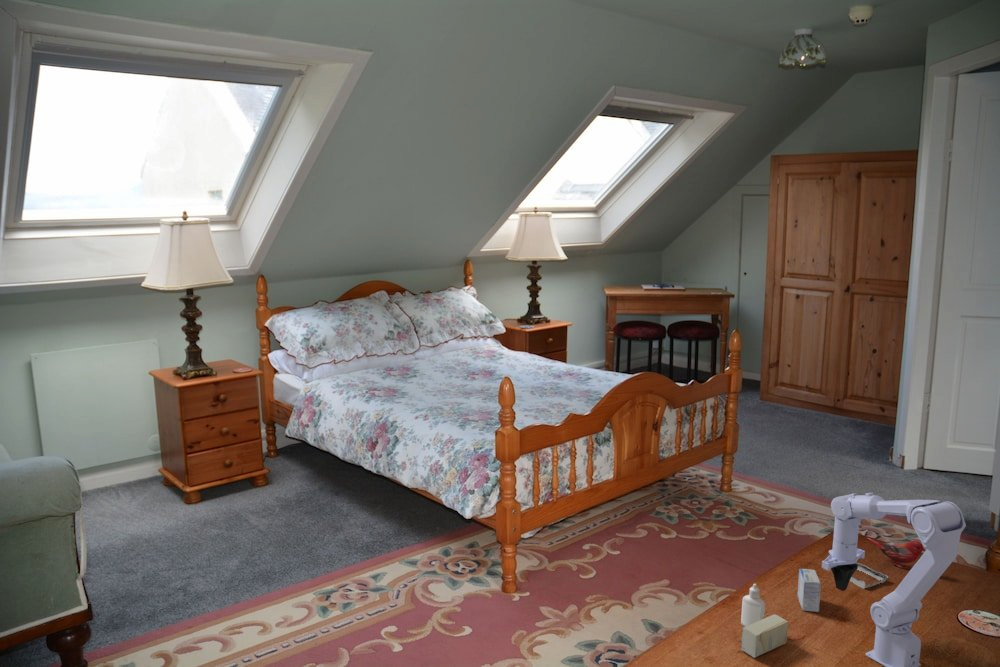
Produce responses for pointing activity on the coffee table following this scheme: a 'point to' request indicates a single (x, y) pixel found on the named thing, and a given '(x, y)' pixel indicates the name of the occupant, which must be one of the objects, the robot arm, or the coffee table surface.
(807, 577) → the medicine box
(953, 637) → the coffee table surface
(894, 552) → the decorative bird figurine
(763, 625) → the skincare box
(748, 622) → the eye dropper bottle
